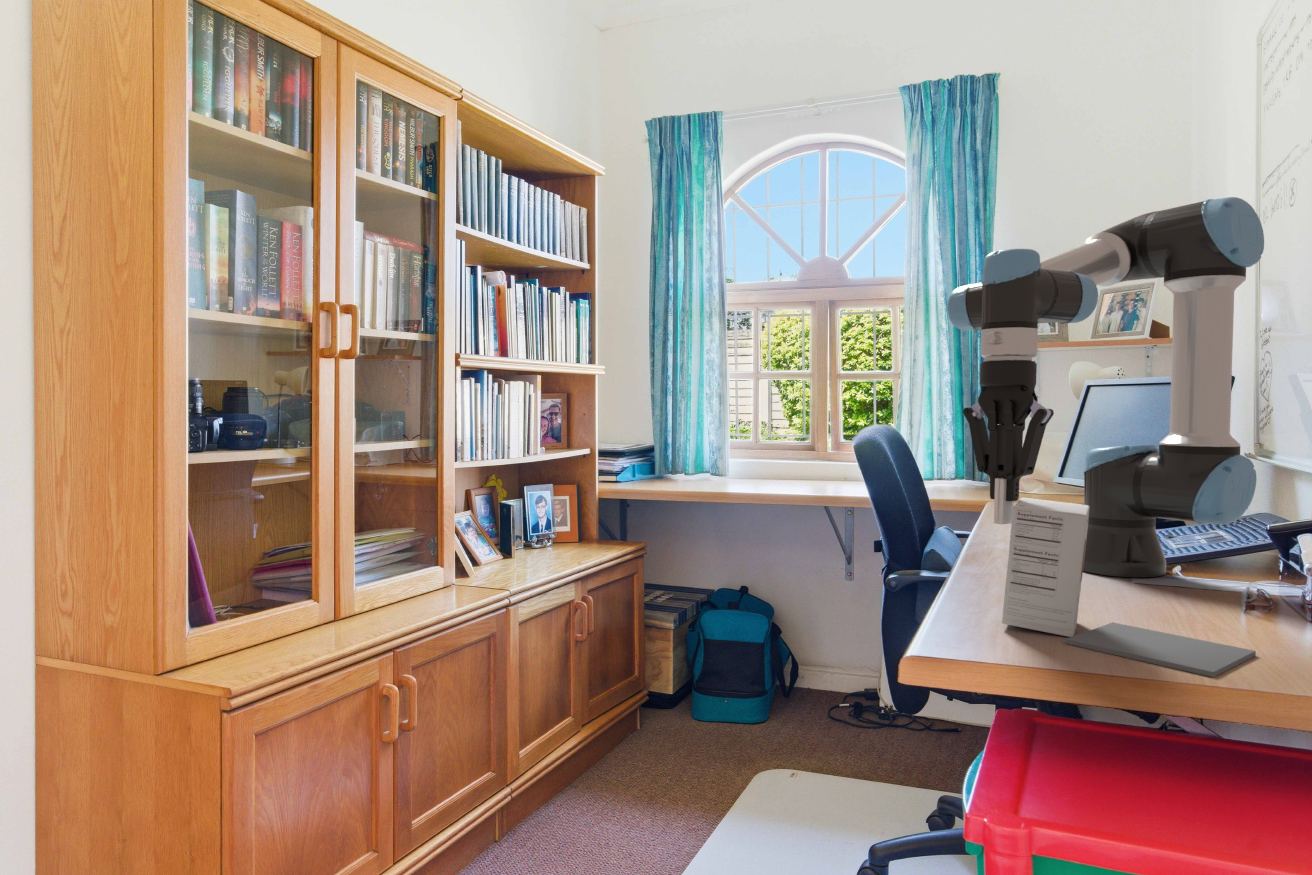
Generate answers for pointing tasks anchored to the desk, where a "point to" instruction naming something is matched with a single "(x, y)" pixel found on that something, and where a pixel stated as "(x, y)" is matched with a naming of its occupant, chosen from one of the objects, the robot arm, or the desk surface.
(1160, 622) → the desk surface
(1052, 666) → the desk surface
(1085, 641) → the mat
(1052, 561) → the supplement box
